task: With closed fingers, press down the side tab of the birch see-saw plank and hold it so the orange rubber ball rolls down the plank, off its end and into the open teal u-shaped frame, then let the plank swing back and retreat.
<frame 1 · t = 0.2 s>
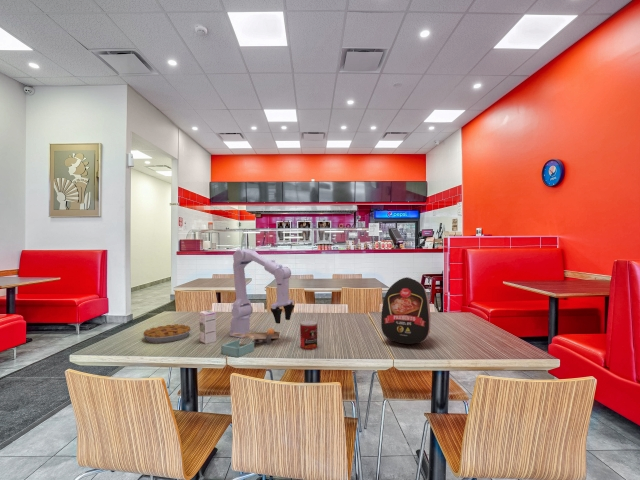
hand: (282, 321, 152), 10 cm above the table, tool pointing down, fingers open, 7 cm apart
canned food: (309, 347, 144), on the table
syrup box: (207, 342, 154), on the table
fulcrum: (262, 342, 152), on the table
packaged food: (406, 342, 150), on the table
lever: (256, 333, 154), point 4 cm above the table, hinge at -13.0°, touching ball
teal u-shaped frame: (238, 351, 139), on the table
pie: (167, 338, 162), on the table
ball: (270, 332, 157), point 3 cm above the table, touching lever
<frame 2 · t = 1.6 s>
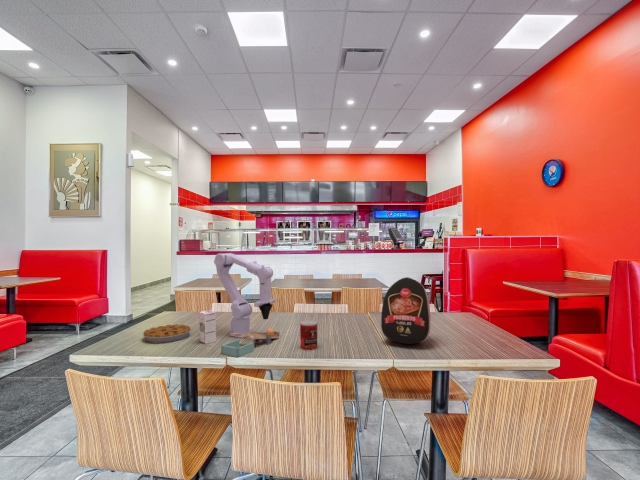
hand: (265, 319, 159), 9 cm above the table, tool pointing down, fingers closed
nothing on the table moved.
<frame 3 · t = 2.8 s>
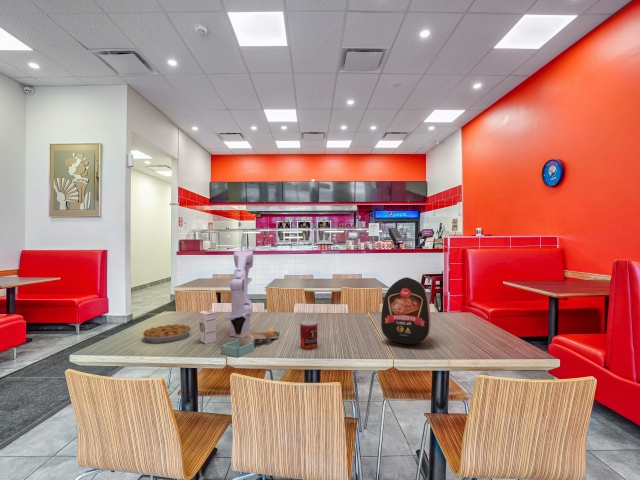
hand: (238, 333, 149), 5 cm above the table, tool pointing down, fingers closed, pressing on lever
lever: (256, 333, 154), point 4 cm above the table, hinge at -12.9°, touching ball, gripper
everything else where it was.
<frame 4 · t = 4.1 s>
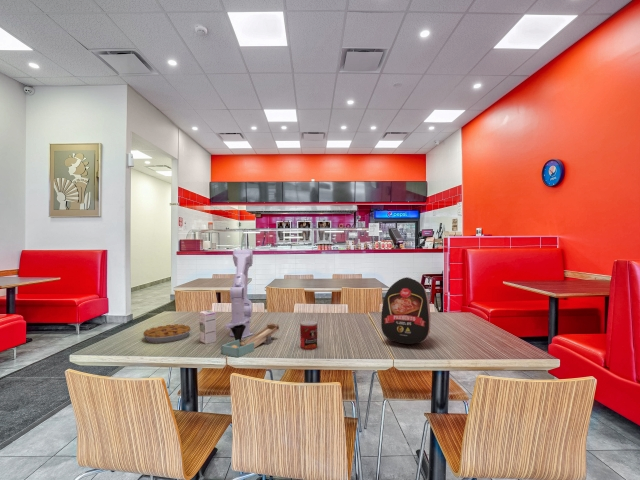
hand: (238, 341, 149), 1 cm above the table, tool pointing down, fingers closed
lever: (255, 333, 154), point 4 cm above the table, hinge at 12.7°, touching gripper
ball: (233, 349, 136), point 2 cm above the table, tilted 113°
everything else where it was.
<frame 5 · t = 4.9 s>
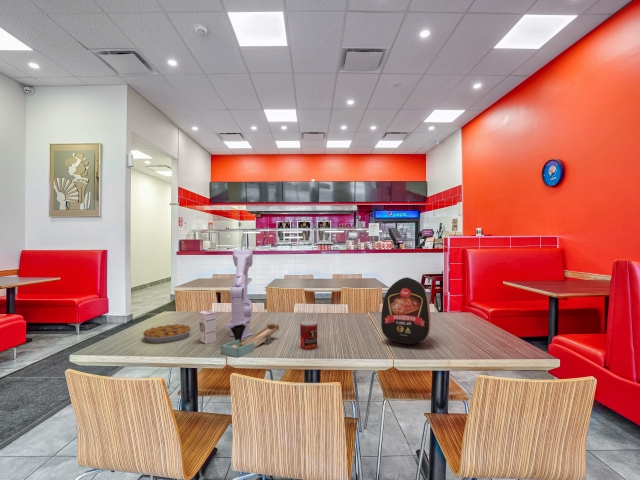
hand: (238, 341, 149), 1 cm above the table, tool pointing down, fingers closed
nothing on the table moved.
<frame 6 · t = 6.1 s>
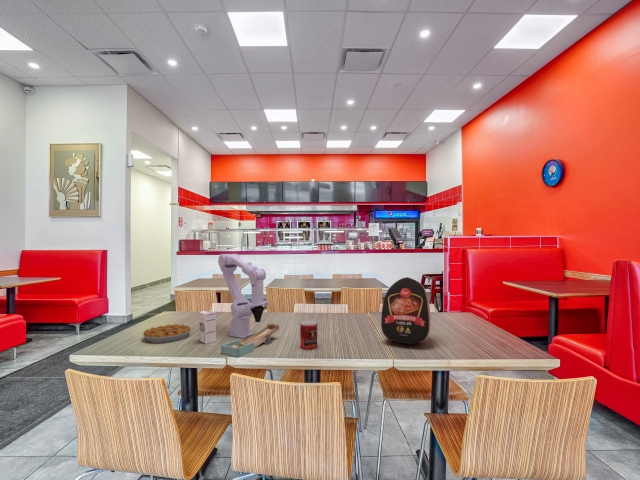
hand: (257, 321, 156), 9 cm above the table, tool pointing down, fingers closed
lever: (255, 333, 154), point 4 cm above the table, hinge at 12.7°
everything else where it was.
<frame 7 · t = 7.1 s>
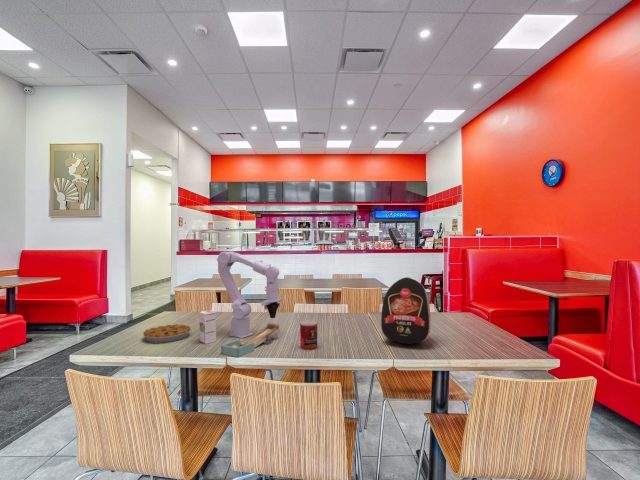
hand: (272, 317, 162), 9 cm above the table, tool pointing down, fingers closed
nothing on the table moved.
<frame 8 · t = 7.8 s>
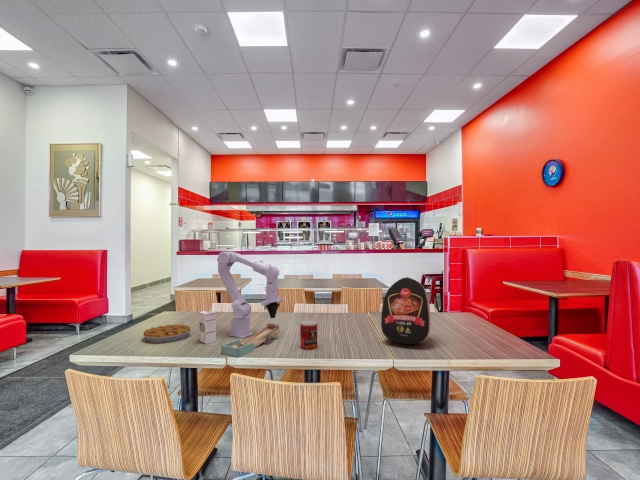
hand: (272, 317, 162), 9 cm above the table, tool pointing down, fingers closed
nothing on the table moved.
at the end: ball inside the target area on the teal u-shaped frame (3.1 cm from its centre), point 1.7 cm above the teal u-shaped frame's base; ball touching table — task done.
